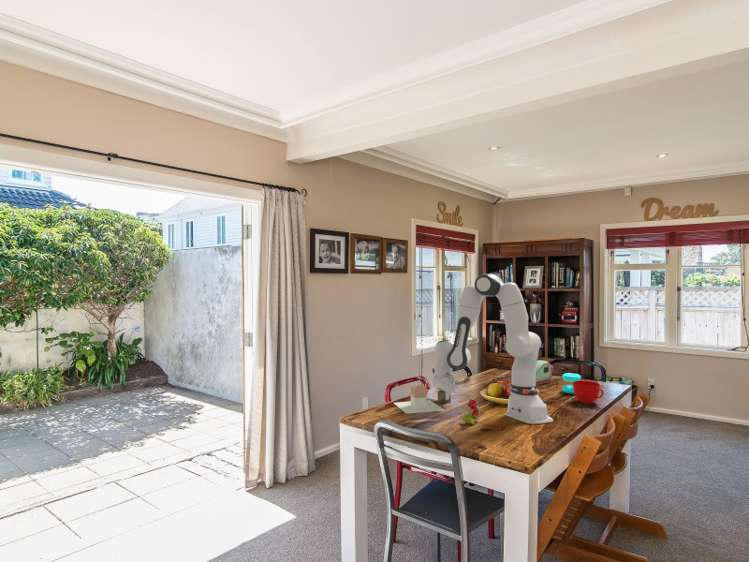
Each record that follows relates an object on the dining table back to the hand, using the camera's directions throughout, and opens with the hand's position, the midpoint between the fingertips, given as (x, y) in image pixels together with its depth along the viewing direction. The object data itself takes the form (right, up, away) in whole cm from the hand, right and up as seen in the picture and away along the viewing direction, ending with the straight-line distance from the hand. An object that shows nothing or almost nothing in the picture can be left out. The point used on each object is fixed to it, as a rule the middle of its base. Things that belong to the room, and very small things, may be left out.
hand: (444, 398), depth 248 cm
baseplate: (-14, -3, -10) cm, 17 cm away
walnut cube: (0, -2, 0) cm, 2 cm away
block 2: (-14, -2, -10) cm, 17 cm away
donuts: (+77, -3, +26) cm, 81 cm away
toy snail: (+67, -3, +51) cm, 84 cm away
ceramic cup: (+76, -3, +2) cm, 76 cm away
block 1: (-14, +3, -10) cm, 17 cm away
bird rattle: (+8, -4, -32) cm, 34 cm away
